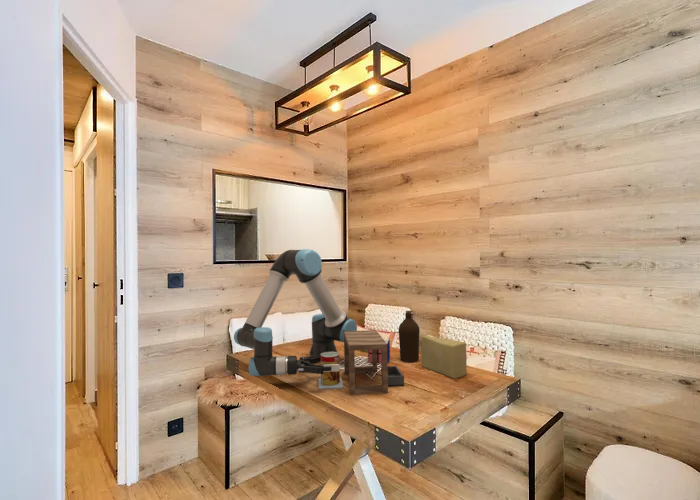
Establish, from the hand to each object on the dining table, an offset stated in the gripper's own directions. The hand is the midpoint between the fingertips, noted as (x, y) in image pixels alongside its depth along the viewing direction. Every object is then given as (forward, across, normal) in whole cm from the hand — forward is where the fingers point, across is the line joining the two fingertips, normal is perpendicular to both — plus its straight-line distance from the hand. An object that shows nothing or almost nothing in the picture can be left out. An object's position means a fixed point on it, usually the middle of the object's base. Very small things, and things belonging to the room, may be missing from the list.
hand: (338, 363), depth 157 cm
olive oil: (+38, -29, -9) cm, 49 cm away
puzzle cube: (+23, -30, -9) cm, 39 cm away
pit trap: (+23, 0, -8) cm, 24 cm away
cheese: (+48, -9, -9) cm, 49 cm away
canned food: (-4, 0, -8) cm, 9 cm away
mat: (-4, 0, -8) cm, 9 cm away
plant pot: (+19, -51, -9) cm, 55 cm away
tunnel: (+11, 0, -8) cm, 14 cm away
